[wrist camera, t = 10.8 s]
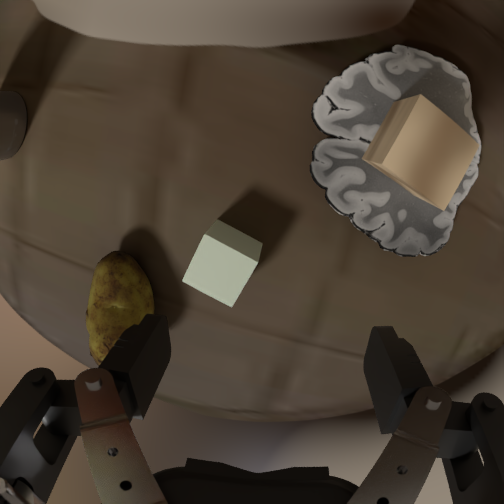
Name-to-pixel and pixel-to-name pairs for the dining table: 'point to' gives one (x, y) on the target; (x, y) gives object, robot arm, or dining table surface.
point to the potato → (116, 301)
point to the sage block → (223, 262)
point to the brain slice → (362, 133)
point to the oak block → (422, 150)
